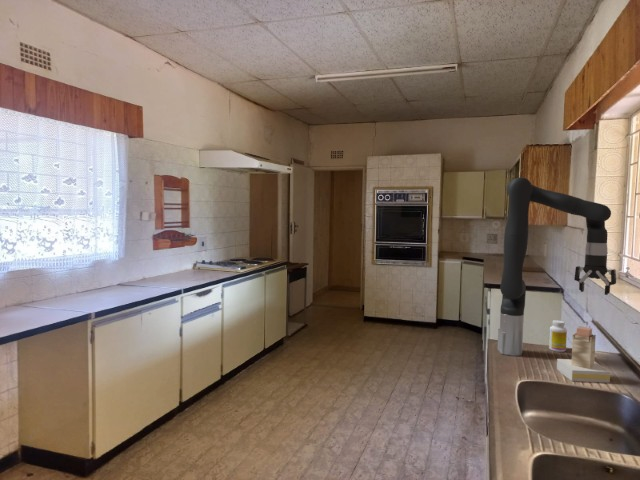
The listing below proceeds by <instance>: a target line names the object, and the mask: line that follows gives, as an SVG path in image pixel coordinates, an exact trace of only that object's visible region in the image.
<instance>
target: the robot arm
mask: <svg viewBox="0 0 640 480" xmlns="http://www.w3.org/2000/svg"><path fill="white" fill-rule="evenodd" d="M506 194H507V196H509V209H508V210H509V211H508V216H507V219H506V223H505V227H504V228H505V229H504V234H503V235H504V237H503V269H502V276H501V282H500V286H499V287H500V289H499V290H500V292H501V295H502V298H501V306H500V314H499V316H500V317H499V328H498V330H497V351H498V352H499V353H500V354H501V355H505V356H512V357H514V356H515V357H516V356H517V357H519V356H521V355H523V347H524V346H523V344H524V341H523V340H524V339H523V338H524V319H525V318H524V316H525V306H526V295H527V293H526V292H527V288H526V283H525V281H524V279H523V266H524V264H525V263H524V261H525V258H526V254H527V249H528V245H529V225H530V224H529V211H530V210H529V209H530V204H531V203H530V202H532V203H536V204H540V205H543V206H546V207H550V208H552V209H554V210H557V211H559V212H563V213H567V214H570V215H574V216H580V217H583V218H585V221H586V222H585V225H586V230H587V232H586V233H587V234H586V243H585V249H584V250H585V255H584V266H580V265H578V266H575V269H574V277H573V278H574V282H575V281H576V282H578V283H579V286H578V290H579V291H580V292H581V293H583V292H585V281H586V280H587V279H588V278H589V279H596V280H601V281H602V282H603V283H604V284H605V285H604V295H605V296H608V295H609V294H610V292H611V286H614V285H616V284H617V271H616V269H615V268H614V269H608V267H607V265H608V253H609V251H608V230H607V229H606V221H607V220H609V219H610V217H611V216H612V210H611V208H610V207H608V206H607V204H606V205H605V204H602V203H599V202H595V201H589V200H585V199H583V198H580V197H577V196H573V195H570V194H566V193H563V192H562V193H561V192H557V191H552V190H548V189H544V188H542V187H538V186H535V185H533V184H532V182H531V181H530V180H529V179H528V178H526V177H521V176H519V177H516V178H513V179H511V180H510V181H509V182H508V183H507V185H506ZM582 271H583V272H584V274H583V276H582V277H581V278H580V275H581V272H582ZM607 273H608V275H610V280H609V279H608V277H607V276H606V274H607Z"/></svg>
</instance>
